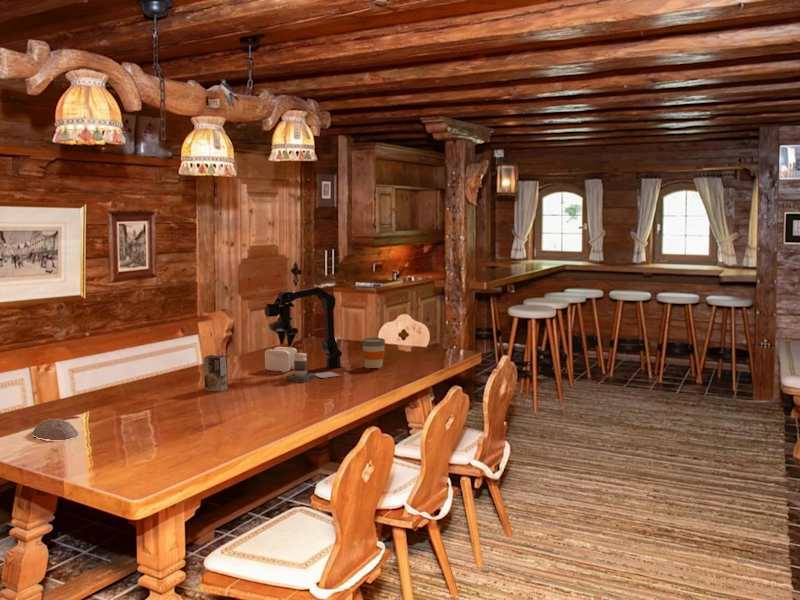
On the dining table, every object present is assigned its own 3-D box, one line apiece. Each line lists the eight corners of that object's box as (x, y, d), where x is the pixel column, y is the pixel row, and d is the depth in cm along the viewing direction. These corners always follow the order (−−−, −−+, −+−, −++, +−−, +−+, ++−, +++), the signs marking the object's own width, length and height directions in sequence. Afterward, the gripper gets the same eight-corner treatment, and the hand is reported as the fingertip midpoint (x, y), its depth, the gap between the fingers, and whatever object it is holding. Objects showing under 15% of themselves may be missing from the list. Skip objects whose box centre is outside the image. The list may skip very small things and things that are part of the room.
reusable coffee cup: (358, 368, 418) (358, 340, 417) (368, 364, 430) (367, 337, 428) (379, 370, 414) (379, 342, 412) (389, 365, 425) (388, 338, 424)
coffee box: (228, 389, 370) (227, 355, 368) (221, 391, 364) (220, 357, 362) (211, 387, 373) (210, 354, 371) (204, 390, 367) (203, 356, 365)
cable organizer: (299, 369, 416) (298, 348, 415) (287, 373, 406) (287, 351, 405) (275, 367, 422) (275, 346, 421) (264, 371, 413) (263, 349, 412)
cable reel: (303, 377, 395) (303, 352, 393) (309, 380, 389) (309, 354, 388) (291, 379, 391) (291, 353, 390) (297, 381, 386) (297, 355, 384)
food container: (63, 423, 309) (61, 407, 308) (89, 439, 291) (87, 422, 290) (22, 434, 299) (20, 418, 297) (46, 452, 281) (44, 434, 279)
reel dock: (297, 376, 397) (297, 372, 397) (315, 378, 393) (315, 373, 393) (286, 380, 388) (286, 375, 387) (304, 382, 383) (304, 377, 383)
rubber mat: (330, 372, 407) (330, 371, 407) (340, 376, 398) (340, 375, 398) (311, 375, 401) (311, 373, 401) (321, 378, 392) (321, 377, 392)
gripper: (263, 314, 407) (263, 344, 409) (278, 318, 392) (278, 349, 393) (282, 313, 413) (283, 342, 415) (298, 317, 398) (298, 347, 399)
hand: (285, 345), depth 405 cm, fingers open, 9 cm apart
